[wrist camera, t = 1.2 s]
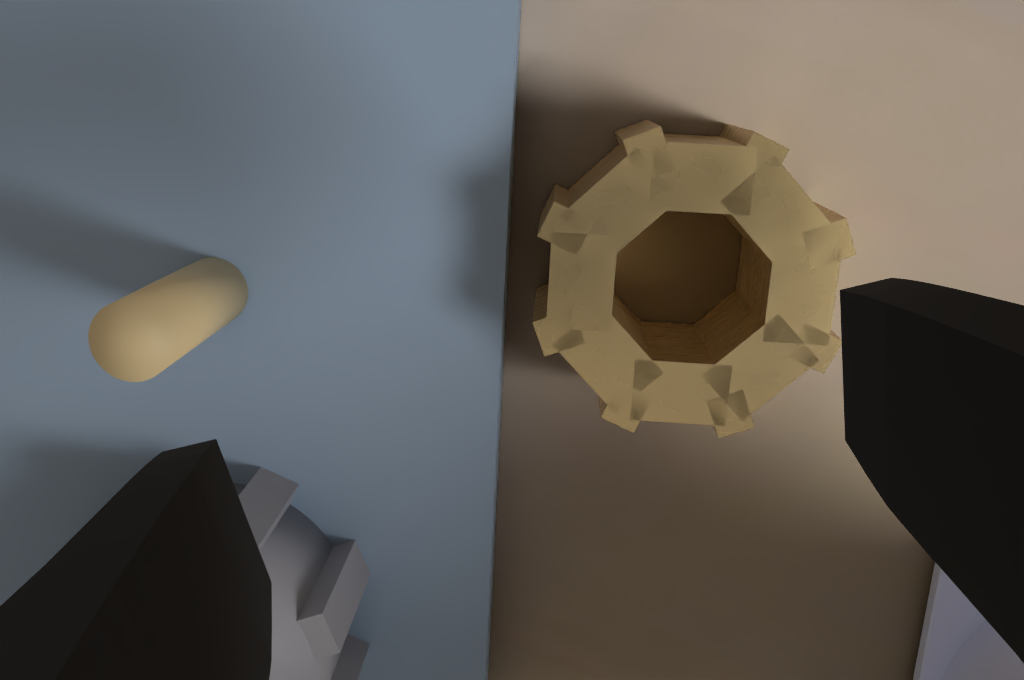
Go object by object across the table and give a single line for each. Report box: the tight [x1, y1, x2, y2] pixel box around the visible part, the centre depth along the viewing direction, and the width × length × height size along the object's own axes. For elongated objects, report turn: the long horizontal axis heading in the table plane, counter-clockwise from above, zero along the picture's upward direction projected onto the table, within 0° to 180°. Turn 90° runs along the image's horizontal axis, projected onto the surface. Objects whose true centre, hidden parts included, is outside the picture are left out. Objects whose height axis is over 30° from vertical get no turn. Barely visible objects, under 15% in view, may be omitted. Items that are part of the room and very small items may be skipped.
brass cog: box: [532, 120, 856, 438], centre depth 19 cm, size 6×6×3 cm
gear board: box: [0, 0, 521, 680], centre depth 18 cm, size 12×22×5 cm, turn 177°
